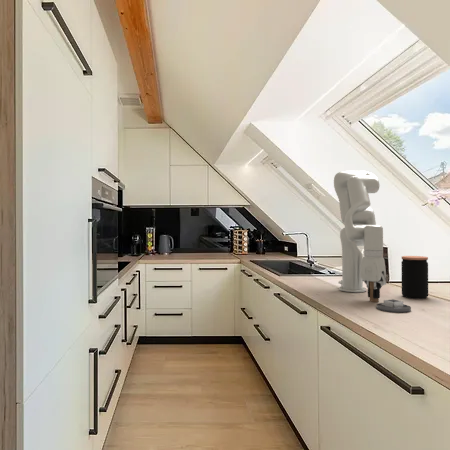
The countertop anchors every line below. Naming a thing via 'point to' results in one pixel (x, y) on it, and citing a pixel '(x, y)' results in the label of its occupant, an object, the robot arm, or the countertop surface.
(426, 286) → the coffee jar
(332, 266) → the countertop surface
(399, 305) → the round metal socket base
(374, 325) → the countertop surface
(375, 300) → the tan wooden beam
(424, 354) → the countertop surface
